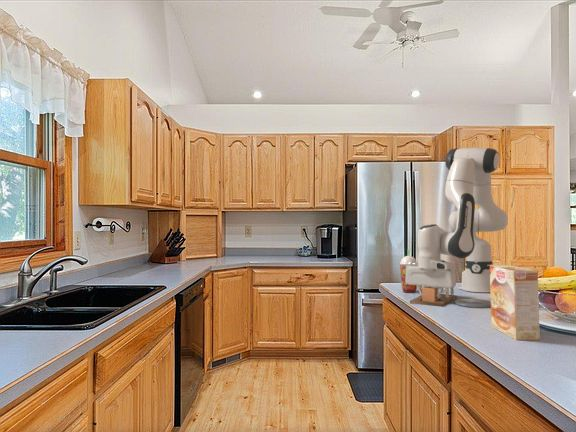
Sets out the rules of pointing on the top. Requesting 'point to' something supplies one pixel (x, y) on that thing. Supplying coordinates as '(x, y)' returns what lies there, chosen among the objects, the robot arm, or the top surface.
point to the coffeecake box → (515, 301)
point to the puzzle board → (441, 302)
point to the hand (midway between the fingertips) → (430, 297)
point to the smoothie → (403, 264)
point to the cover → (447, 291)
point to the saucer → (473, 303)
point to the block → (429, 294)
